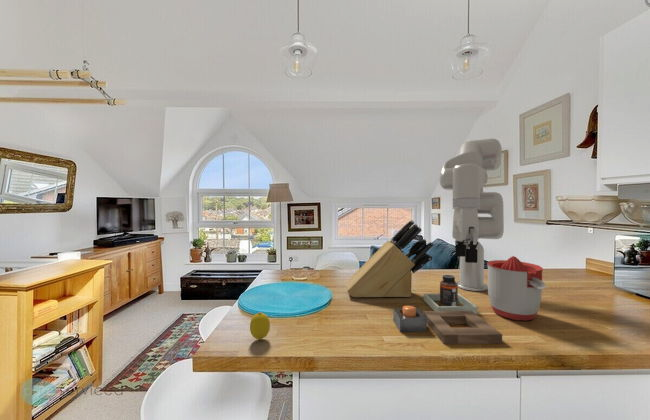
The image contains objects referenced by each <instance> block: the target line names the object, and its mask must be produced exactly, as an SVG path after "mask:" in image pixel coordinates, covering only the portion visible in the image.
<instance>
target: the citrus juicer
mask: <svg viewBox="0 0 650 420" xmlns="http://www.w3.org/2000/svg"><path fill="white" fill-rule="evenodd" d="M486 265H487V286H488V289H487V294H488V299H489V302H490V306H491V308H492V310H493V312H494V313H495V314H497V315H498V316H501V317H504V318H506V319H510V320H513V321H531V320H534V319H535V318H536V316H537V313H539V308H540V307H541V301H542V293H543V290H545V289H546V288H547V284H546V283H545V282H544V281H543V270H544V268H543V267H542V266H541V265H537V264H534V263H530V262H524V261H521V260H520V259H519V258H517V257H516V256H515V255H512V256H510V257H509V258H507V260H503V259H502V260H501V259H500V260H499V259H498V260H497V259H495V260H489V261H487V262H486Z"/></svg>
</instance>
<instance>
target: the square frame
mask: <svg viewBox="0 0 650 420" xmlns="http://www.w3.org/2000/svg"><path fill="white" fill-rule="evenodd" d="M422 313H423V315H424V316H425V317H426V318H427V326H428V327H429V328H430V329H431V331H432V332H433V333H434V334H435V335H436V337H437V338H438V340H440V342H441V343H442V344H443V345H458V344H461V345H462V344H463V345H464V344H465V345H467V344H469V345H470V344H472V345H473V344H477V345H479V344H481V345H482V344H484V345H485V344H486V345H487V344H503V334H502V332H500V331H498V330H497V329H496V328H494V326H492V325H490V324H489V323H488V322H487V321H485V320H484V319H483V318H481V317H480V315H479V314H475V313H474V312H472V311H434V310H428V311H427V310H423V311H422ZM453 324H454V325H458V324H459V325H461V324H463V325H466V326H467V327H451V326H450V325H453Z"/></svg>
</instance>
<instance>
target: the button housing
mask: <svg viewBox="0 0 650 420" xmlns="http://www.w3.org/2000/svg"><path fill="white" fill-rule="evenodd" d="M415 308H416V316H409V317H404V316H403V307H396V308H395V307H393V315H392V316H393V322H394V323H395V325H396V327H397V329H398V331H399V332H400V333H411V332H412V333H419V332H420V333H421V332H426V333H427V332H428V329H427V328H428V324H427V318H426V317H425V316H424V315H423V311H421V310H420V309H419V307H415Z"/></svg>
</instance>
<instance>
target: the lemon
mask: <svg viewBox="0 0 650 420" xmlns="http://www.w3.org/2000/svg"><path fill="white" fill-rule="evenodd" d="M270 324H271V321H270V319H269V316H268V315H267V314H265V313H264V312H261V311H259V312H258V313H256V314H254V315H253V317H252V318H251V320H250V323H249V330H250V334H251V336H252V337H253V338H255V339H257V340H259V341H261V340H263V339H265V338H266V337H267V336H268V334H269V332H270V329H271V325H270Z"/></svg>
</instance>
